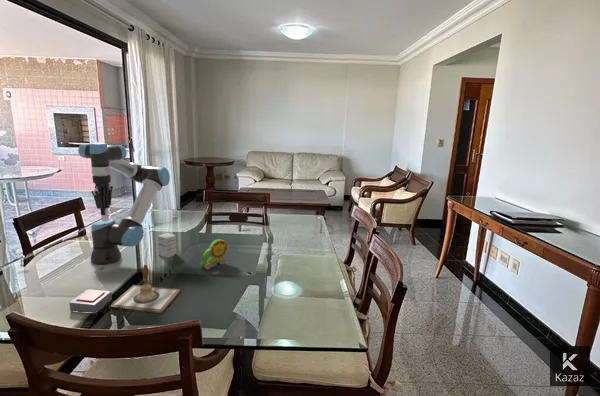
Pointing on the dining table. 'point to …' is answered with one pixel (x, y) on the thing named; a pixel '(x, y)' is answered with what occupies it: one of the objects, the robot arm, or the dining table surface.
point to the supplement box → (167, 245)
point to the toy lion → (214, 254)
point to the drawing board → (155, 305)
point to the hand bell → (146, 288)
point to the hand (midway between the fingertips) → (105, 220)
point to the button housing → (90, 306)
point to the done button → (90, 296)
